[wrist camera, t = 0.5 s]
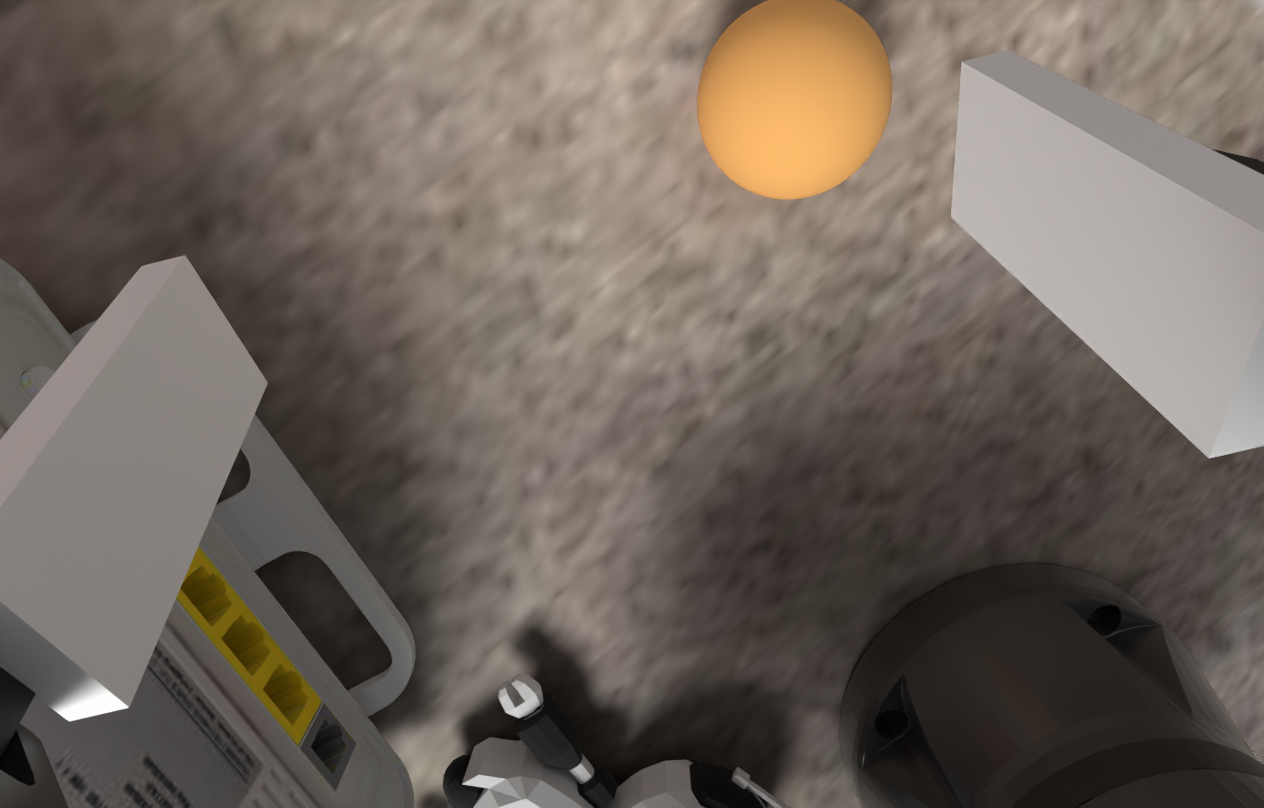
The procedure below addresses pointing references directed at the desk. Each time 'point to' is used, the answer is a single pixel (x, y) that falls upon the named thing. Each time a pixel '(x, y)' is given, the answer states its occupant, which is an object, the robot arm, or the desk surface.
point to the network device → (224, 647)
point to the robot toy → (580, 769)
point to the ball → (794, 97)
